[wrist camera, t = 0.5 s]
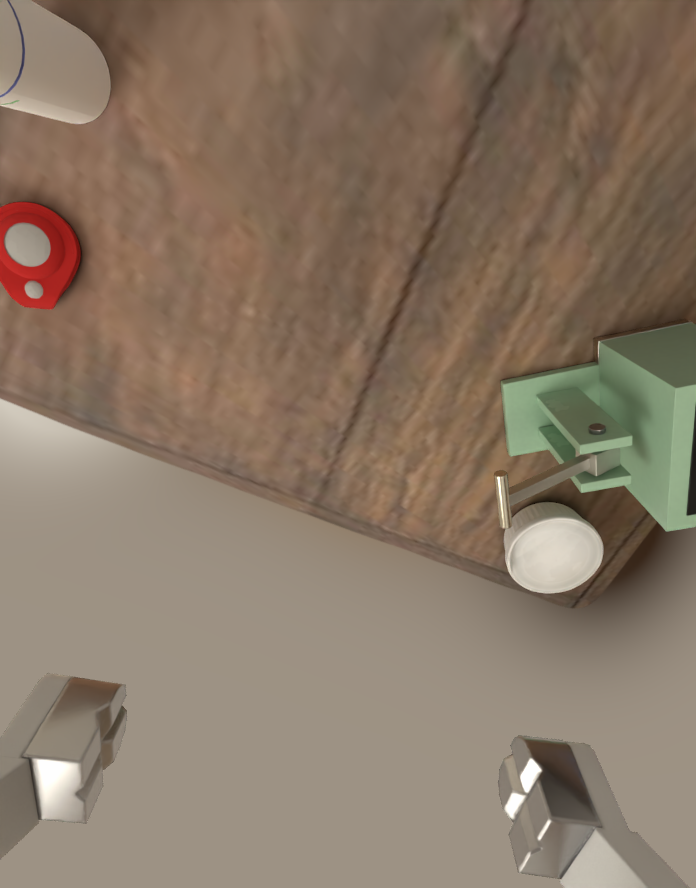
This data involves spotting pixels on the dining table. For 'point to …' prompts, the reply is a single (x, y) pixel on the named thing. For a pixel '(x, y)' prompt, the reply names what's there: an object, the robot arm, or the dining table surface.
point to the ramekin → (551, 548)
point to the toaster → (655, 414)
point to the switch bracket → (563, 420)
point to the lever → (549, 480)
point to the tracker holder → (36, 254)
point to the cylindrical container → (50, 65)
